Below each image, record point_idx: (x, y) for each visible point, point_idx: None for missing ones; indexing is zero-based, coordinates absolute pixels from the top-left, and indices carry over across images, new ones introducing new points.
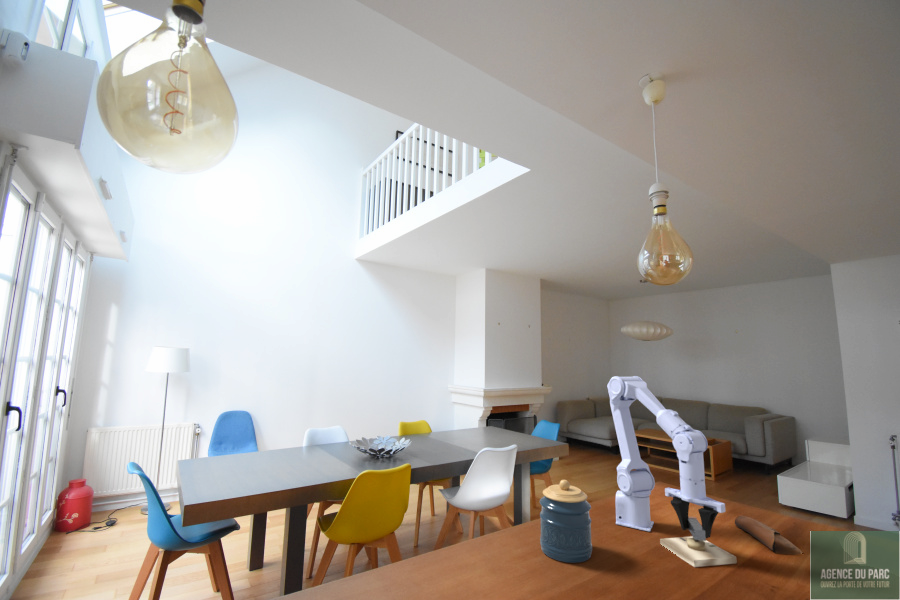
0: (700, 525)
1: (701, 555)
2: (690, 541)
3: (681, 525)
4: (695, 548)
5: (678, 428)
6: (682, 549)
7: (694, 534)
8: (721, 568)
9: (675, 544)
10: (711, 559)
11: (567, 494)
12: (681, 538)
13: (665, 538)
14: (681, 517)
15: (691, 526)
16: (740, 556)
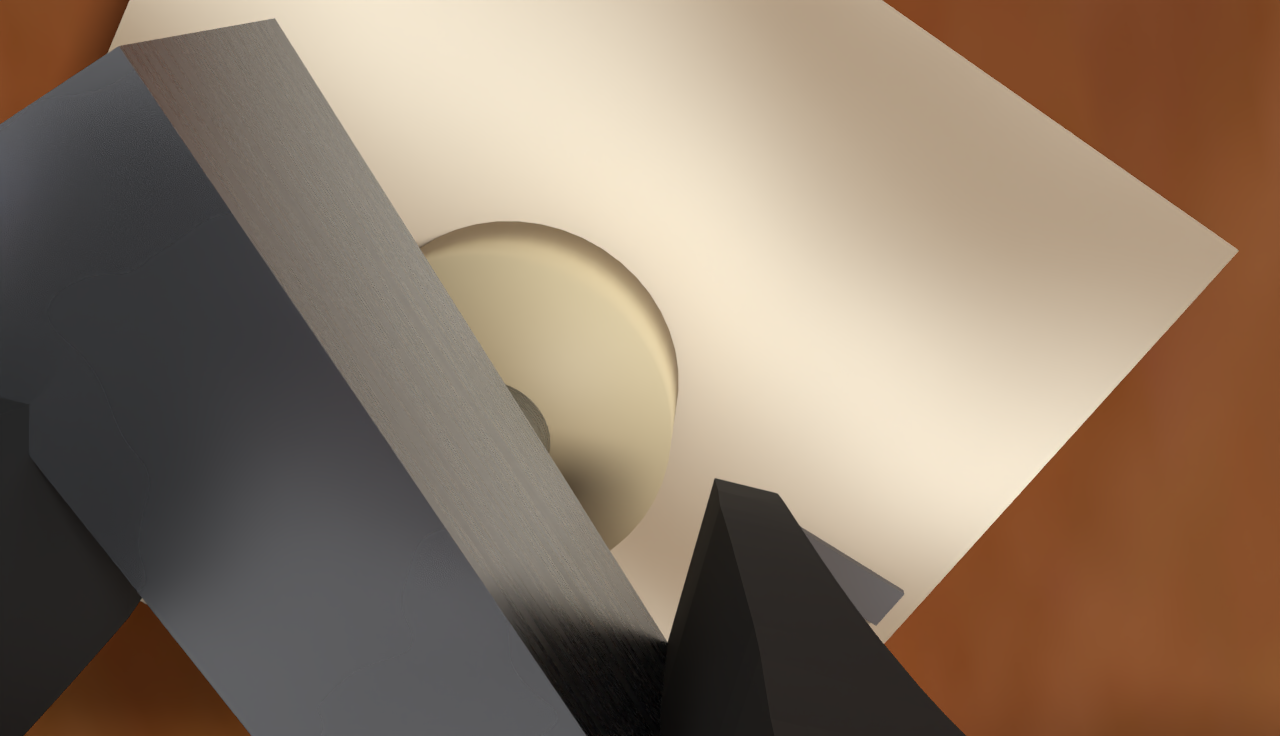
0: (167, 590)
1: (305, 39)
2: (572, 324)
3: (776, 519)
4: (470, 228)
5: None
6: (686, 43)
7: (218, 39)
8: (41, 37)
9: (878, 204)
10: (122, 23)
11: None
12: (855, 579)
13: (1132, 365)
14: (756, 651)
15: (389, 401)
16: (79, 713)
